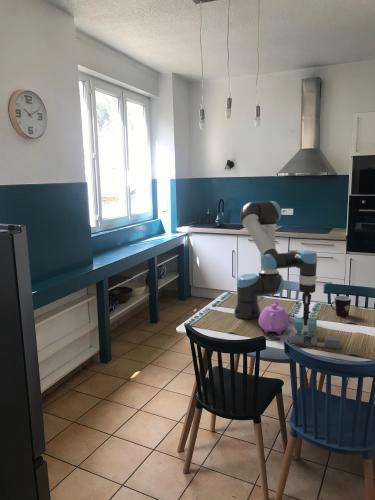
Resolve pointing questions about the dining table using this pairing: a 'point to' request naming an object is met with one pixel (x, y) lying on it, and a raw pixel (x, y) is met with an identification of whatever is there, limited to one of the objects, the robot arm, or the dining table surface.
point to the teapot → (274, 318)
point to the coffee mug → (342, 305)
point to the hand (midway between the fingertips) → (305, 328)
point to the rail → (315, 341)
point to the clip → (311, 325)
